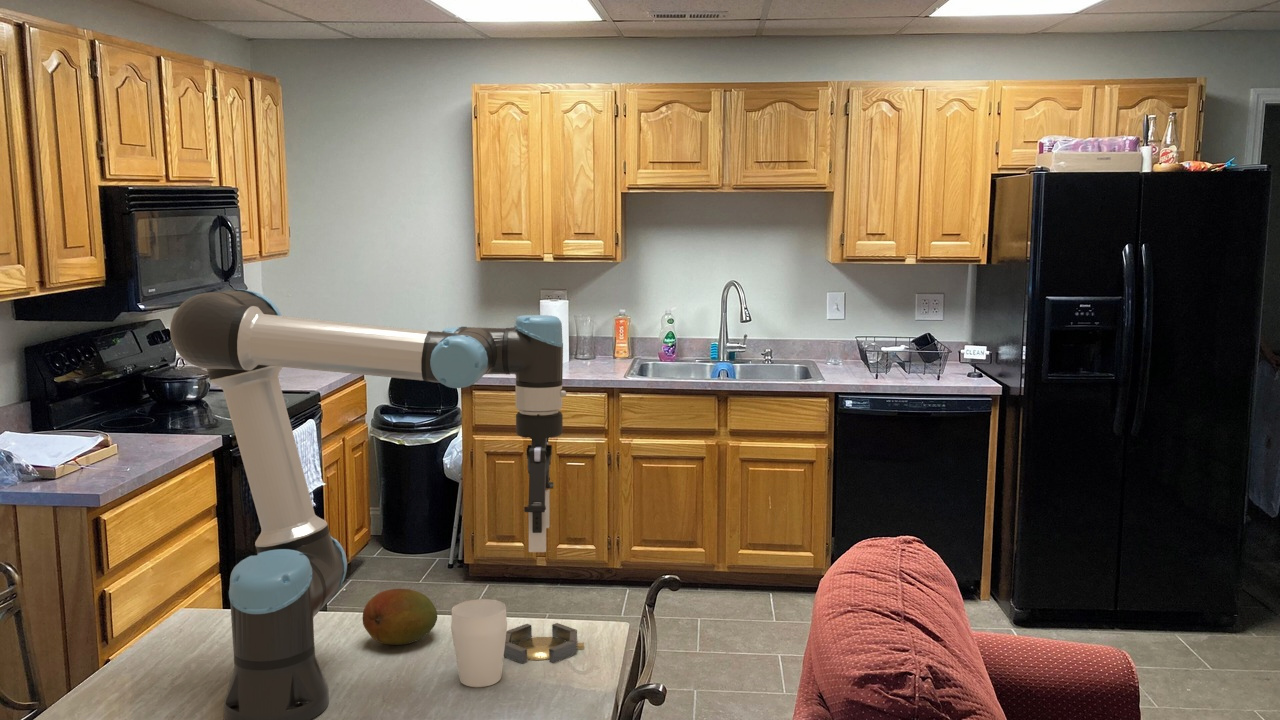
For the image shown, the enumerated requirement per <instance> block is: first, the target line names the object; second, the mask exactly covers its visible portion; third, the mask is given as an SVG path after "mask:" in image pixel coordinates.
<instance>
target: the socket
mask: <svg viewBox="0 0 1280 720" xmlns="http://www.w3.org/2000/svg"><path fill="white" fill-rule="evenodd" d="M551 627H552V628H551V629H552V632H551V634H552V635H551V636H536V637H535V636H533V635H532V634H533V633H532V624H529V623H525V624H522V625H519V626H517V627H514V628H511V629H509V630H508V629H507V631H506V640H505V649H504V657H503V658H507V659H509V660H511V661H514V662H516V663H518V664H520V665H521V664H522V665H523V664H525V663H528V661H546V660H549V662H551V663H553V664H555V663H557V662H560V661H563V660H566V659H567V658H570V657H572V656H575V655H577V651H578V649H579V650H585V642H578V629H576V628H572V627H570V626H567V625H564V624H561V623H559V622H556V623H552V625H551Z"/></svg>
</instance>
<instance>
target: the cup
mask: <svg viewBox="0 0 1280 720" xmlns="http://www.w3.org/2000/svg"><path fill="white" fill-rule="evenodd" d="M450 629H451V631H450V632H451V636H452V642H453V648H454V654H455V660H456V664H457V669H458V670H457V671H458V676H459V681H460V682H461V684H462V685H464V686H467V687H470V688H485V687H489V686H493V685H495V684H496V683H498V682H499V681H501V678H502V675H503V673H502V672H503V664H504V658H505V657H504V649H505V640H506V631H508V620H507V607H506V604H505V603H504V602H502V601H499V600H496V599H490V598H489V599H487V598H478V599H476V598H475V599H469V600H464V601H462V602H459V603H457V604H455V605H454V606H453V607H452V608H451V622H450Z"/></svg>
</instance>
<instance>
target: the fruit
mask: <svg viewBox="0 0 1280 720" xmlns="http://www.w3.org/2000/svg"><path fill="white" fill-rule="evenodd" d="M437 619H438V611H437V608H436V606H435V605H434V603H433V602H432V600H430V598H429V597H428V596H427V595H425V594H424V593H421V592H419V591H416V590H414V589H410V588H409V589H408V588H392V589H386V590H382V591H381V592H379V593H376V595H374V596H373V597H372V598H370V600H369V601H368V602H367V603H366V605H365V606H364V609H363V611H362V625H363V628H364V629H365V631H366V632H367V633H368V634H369V635H370V637H372V638H373V639H374V640H375V641H377V642H379V643H381V644H384V645H391V646H392V645H394V646H402V645H407V644H411V643H415V642H416V641H419V640H422V638H424V637H425V636H427V635H428V634H429V633H430V632H432V630H433V629H434V627H435V625H436V623H437V621H438V620H437Z"/></svg>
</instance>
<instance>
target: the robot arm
mask: <svg viewBox="0 0 1280 720" xmlns="http://www.w3.org/2000/svg"><path fill="white" fill-rule="evenodd" d="M514 323H515V324H514V327H513V326H512V327H506V328H504V327H502V328H501V327H500V328H499V327H470V326H469V327H468V326H463V325H462V326H457V327H446V328H444V329H443V330H442V331H431V330H424V329H414V328H403V327H394V326H393V327H392V326H385V325H375V324H365V323H354V322H344V321H335V320H325V319H318V318H317V319H315V318H305V317H295V316H284V315H282V314H281V311H280V309H279V308H278V307H277V305H276V304H275V302H273V300H271V299H270V298H268V297H267V296H265V295H264V294H261V293H260V292H257V291H253V290H248V289H243V288H242V289H241V288H236V289H227V290H223V291H216V292H215V291H214V292H212V291H211V292H204V293H200V294H195V295H193V296H191V297H189V298H188V299H186V300H185V301H183V302H182V304H180V305H179V306H178V308H177V309H176V310H175V312H174V313H173V316H172V318H171V321H170V326H169V332H170V339H171V343H172V344H173V347H174V349H175V350H176V352H177V354H178V355H179V356H180V357H181V358H182V359H184V361H186V362H188V364H191V365H193V366H195V367H198V368H201V369H206V372H207V375H208V378H209V381H210V382H211V383H212V384H214V385H216V387H219V388H220V389H222V391H223V394H224V398H225V402H226V405H227V410H228V413H229V417H230V421H231V424H232V427H233V431H234V434H235V437H236V442H237V445H238V449H239V452H240V453H239V454H240V456H241V460H242V463H243V468H244V471H245V475H246V478H247V482H248V485H249V489H250V492H251V496H252V500H253V503H254V507H255V510H256V514H257V517H258V522H259V526H260V528H261V529H260V530H261V531H260V534H259V535H258V537H257V538H256V540H255V542H254V543H255V544H254V546H255V549H256V552H257V553H256V554H257V555H249V556H247V557H245V558H244V559H242V560H240V561H239V562H238V563H237V564H235V566H234V567H233V569H232V571H231V573H230V578H229V587H228V589H229V590H228V599H229V605H230V621H231V633H232V634H231V636H232V648H233V649H232V650H233V651H232V652H233V670H232V673H231V677H230V679H229V684H228V687H227V692H226V694H225V698H224V702H223V709H224V711H223V713H224V714H223V715H224V720H312V719H314V718H316V717H318V716H319V715H321V714H322V713H323V712H324V711H325V710H326V709H327V707H328V706H329V703H330V693H329V685H328V682H327V681H326V677H325V676H324V673H323V670H322V668H321V666H320V663H319V662H318V659H317V656H316V650H315V649H316V648H315V629H314V617H315V616H317V614H318V613H319V612H320V611H321V610H322V609H323V608H324V606H325V605H326V604H328V603H329V602H330V601H332V599H333V598H334V597H335V596H336V595H337V593H338V592H339V590H340V588H341V587H342V584H343V583H344V580H345V579H346V575H347V570H348V560H347V555H346V552H345V550H344V548H343V546H342V544H341V543H340V542H339V541H338V539H336V538H334V537H333V536H332V535H331V531H330V528H329V524H328V522H327V520H325V519H324V518H321V517H319V516H318V515H316V513H315V509H314V506H313V502H312V498H311V494H310V491H309V488H308V484H307V479H306V477H305V473H304V468H303V466H302V461H301V458H300V455H299V451H298V447H297V443H296V440H295V435H294V432H293V428H292V424H291V421H290V417H289V416H290V415H289V414H288V410H287V405H286V402H285V398H284V394H283V391H282V388H281V383H280V380H279V374H280V372H281V370H283V369H282V368H289V369H299V370H300V369H301V370H311V371H318V372H319V371H320V372H333V373H342V374H352V375H361V376H362V375H363V376H371V377H372V376H373V377H385V378H392V379H394V378H395V379H404V380H415V381H424V382H431V383H440V384H441V385H444V386H445V387H447V388H452V389H462V388H469V387H471V386H473V385H474V384H475V383H478V381H480V379H481V378H483V376H485V375H515V409H516V410H517V411H518V412H517V413H516V414H515V432H516V435H517V436H518V437H521V438H529V439H530V440H531V443H530V444H527V447H526V459H527V473H528V476H529V478H528V479H529V480H528V505H527V506H524V507H523V512H524V513H528V553H546V552H547V529H550V489H554V482H553V481H550V480H551V477H550V465H551V461H552V460H551V459H552V454H553V449H552V448H553V445H552V444H549V439H552V438H556V437H559V436H562V434H563V425H564V424H563V423H564V422H563V420H564V419H563V418H564V417H563V416H564V415H563V413H562V412H561V411H560V410H561V409H562V408H563V397H566V396H567V391H566V390H562V389H563V375H564V374H563V371H564V369H563V367H564V366H563V365H564V364H563V363H564V361H563V359H564V342H563V341H564V339H563V324H562V323H563V322H562V321H561V319H560V318H559V317H557V316H555V315H547V314H534V315H533V314H527V315H519V316H517V317H516V319H515V322H514Z"/></svg>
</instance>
